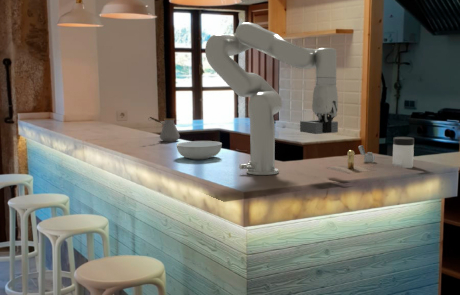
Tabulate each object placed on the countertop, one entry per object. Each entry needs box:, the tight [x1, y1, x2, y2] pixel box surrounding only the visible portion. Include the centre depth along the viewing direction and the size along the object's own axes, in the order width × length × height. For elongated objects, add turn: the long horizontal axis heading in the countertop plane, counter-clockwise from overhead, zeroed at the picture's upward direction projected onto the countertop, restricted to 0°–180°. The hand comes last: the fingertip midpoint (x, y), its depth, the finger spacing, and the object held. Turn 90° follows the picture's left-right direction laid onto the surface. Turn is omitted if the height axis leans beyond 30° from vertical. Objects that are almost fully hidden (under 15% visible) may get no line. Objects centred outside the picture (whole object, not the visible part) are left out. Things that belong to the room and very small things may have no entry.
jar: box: [392, 136, 415, 169], centre depth 227 cm, size 9×8×12 cm
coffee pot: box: [148, 116, 181, 143], centre depth 312 cm, size 21×12×15 cm, turn 142°
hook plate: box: [326, 164, 376, 174], centre depth 217 cm, size 14×14×1 cm
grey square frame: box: [299, 119, 339, 135], centre depth 207 cm, size 10×10×4 cm
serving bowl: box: [176, 140, 223, 161], centre depth 254 cm, size 21×21×7 cm
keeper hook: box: [347, 149, 356, 169], centre depth 217 cm, size 3×3×7 cm
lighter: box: [358, 144, 376, 163], centre depth 234 cm, size 7×2×8 cm, turn 51°
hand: (325, 131), depth 204 cm, fingers closed on grey square frame, 2 cm apart
